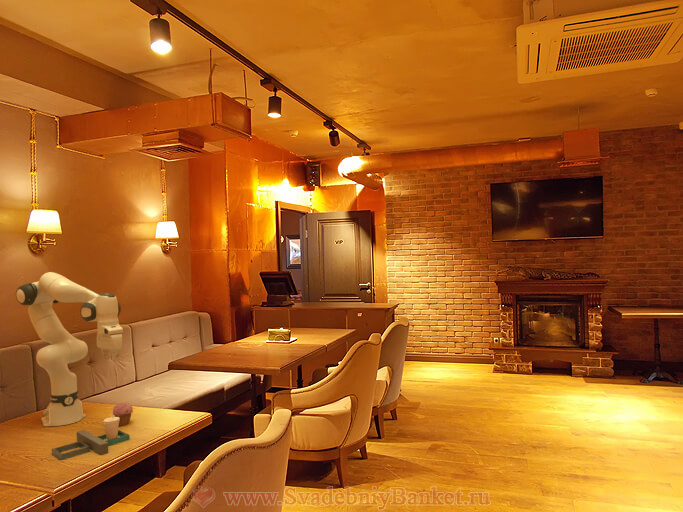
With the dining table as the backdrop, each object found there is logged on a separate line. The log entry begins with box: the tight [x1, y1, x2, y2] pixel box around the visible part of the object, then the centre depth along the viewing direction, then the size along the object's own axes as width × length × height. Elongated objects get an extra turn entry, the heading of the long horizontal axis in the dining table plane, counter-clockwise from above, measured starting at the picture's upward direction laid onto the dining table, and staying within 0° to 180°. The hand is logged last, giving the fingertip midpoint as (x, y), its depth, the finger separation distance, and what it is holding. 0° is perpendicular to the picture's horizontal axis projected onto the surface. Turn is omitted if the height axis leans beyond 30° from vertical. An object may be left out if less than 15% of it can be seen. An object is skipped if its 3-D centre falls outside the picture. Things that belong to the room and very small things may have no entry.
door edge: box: [76, 429, 109, 456], centre depth 202 cm, size 26×3×4 cm, turn 47°
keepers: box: [51, 429, 131, 461], centre depth 202 cm, size 10×27×2 cm, turn 137°
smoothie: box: [102, 408, 120, 441], centre depth 206 cm, size 6×6×14 cm
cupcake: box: [112, 402, 134, 426], centre depth 230 cm, size 9×9×10 cm
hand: (109, 359), depth 220 cm, fingers open, 8 cm apart
